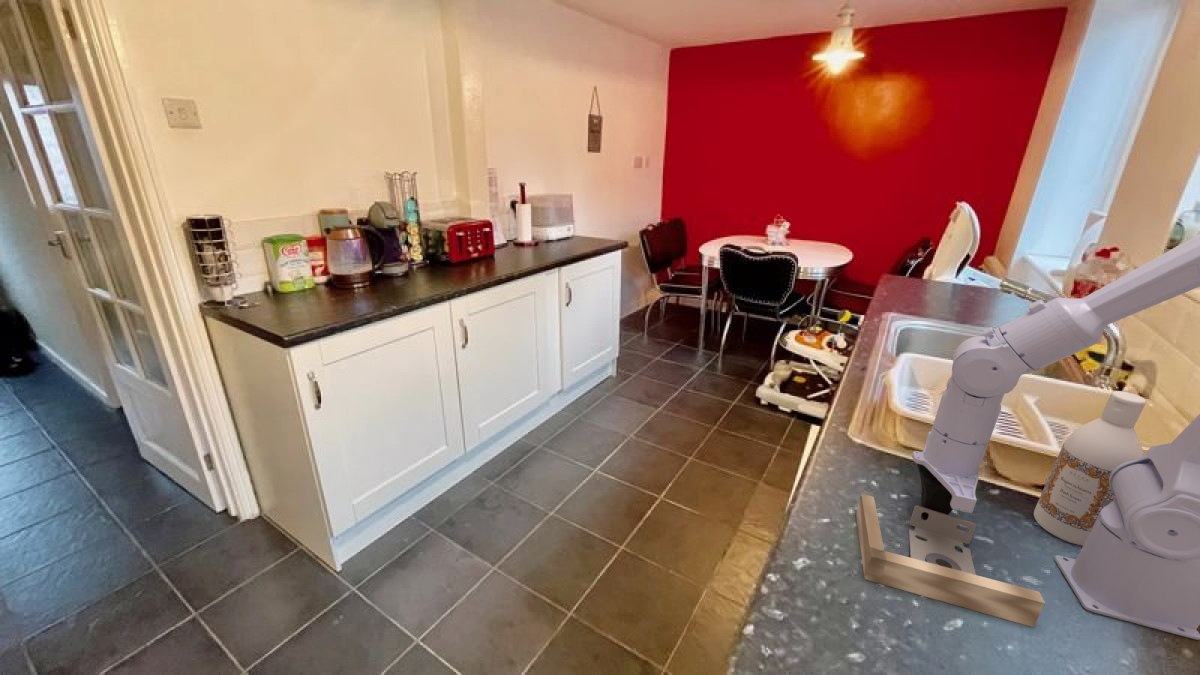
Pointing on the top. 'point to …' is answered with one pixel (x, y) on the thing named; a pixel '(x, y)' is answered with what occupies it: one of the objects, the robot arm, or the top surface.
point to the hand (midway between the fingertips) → (930, 519)
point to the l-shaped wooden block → (940, 577)
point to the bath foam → (1089, 469)
